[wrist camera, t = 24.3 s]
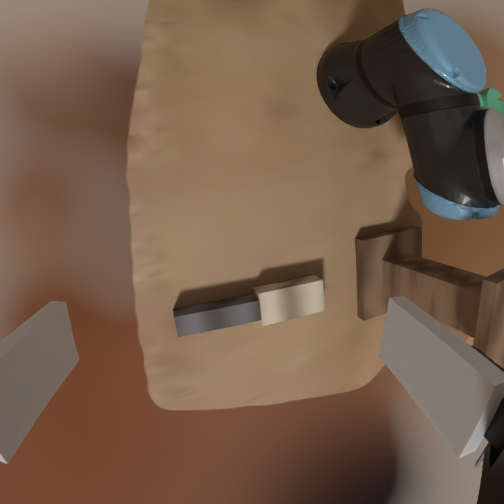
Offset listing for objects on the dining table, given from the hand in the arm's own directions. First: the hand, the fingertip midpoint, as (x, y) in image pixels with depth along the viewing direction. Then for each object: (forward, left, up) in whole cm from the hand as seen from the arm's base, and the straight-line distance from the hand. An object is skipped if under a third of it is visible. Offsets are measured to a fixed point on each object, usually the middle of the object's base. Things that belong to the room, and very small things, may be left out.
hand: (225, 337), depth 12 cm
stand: (-9, +35, -32) cm, 48 cm away
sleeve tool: (+6, +13, -32) cm, 35 cm away
